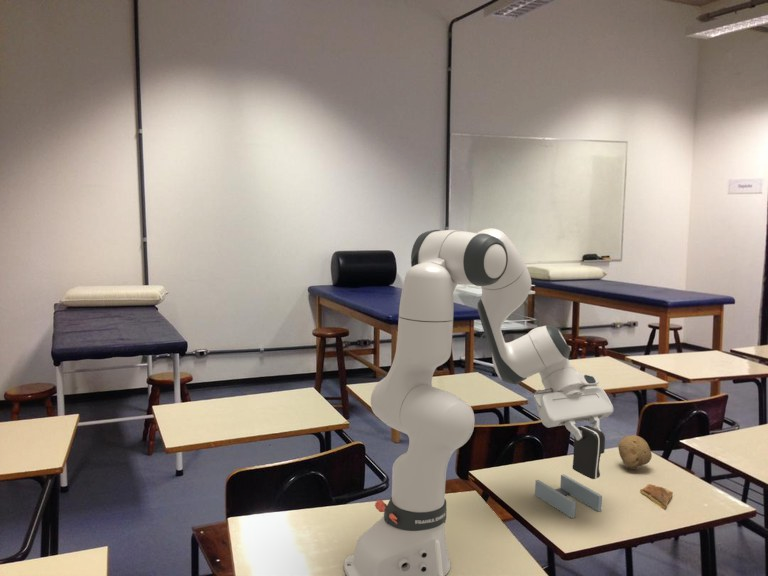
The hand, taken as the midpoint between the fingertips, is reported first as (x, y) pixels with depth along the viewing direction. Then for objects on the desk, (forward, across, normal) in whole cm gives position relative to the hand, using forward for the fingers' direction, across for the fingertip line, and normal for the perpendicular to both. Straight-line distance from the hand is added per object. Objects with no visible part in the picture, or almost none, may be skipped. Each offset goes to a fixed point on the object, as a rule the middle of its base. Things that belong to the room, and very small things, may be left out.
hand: (589, 437), depth 152 cm
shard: (+14, +28, +17) cm, 36 cm away
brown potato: (+2, +36, +28) cm, 46 cm away
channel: (+8, +3, +22) cm, 23 cm away
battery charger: (+6, 0, +7) cm, 9 cm away
